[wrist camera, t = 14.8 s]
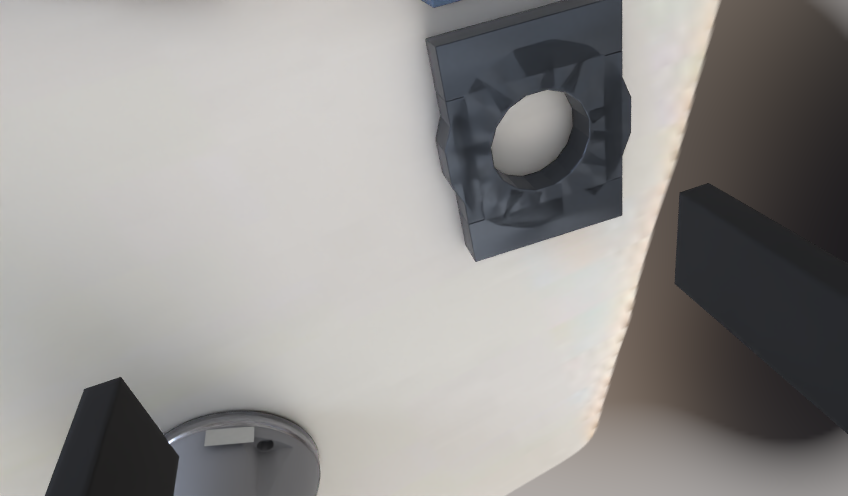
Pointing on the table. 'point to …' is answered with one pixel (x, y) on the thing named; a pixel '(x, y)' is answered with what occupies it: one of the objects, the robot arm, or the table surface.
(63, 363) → the table surface
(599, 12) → the plate
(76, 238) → the table surface
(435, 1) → the blue tray
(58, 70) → the table surface
